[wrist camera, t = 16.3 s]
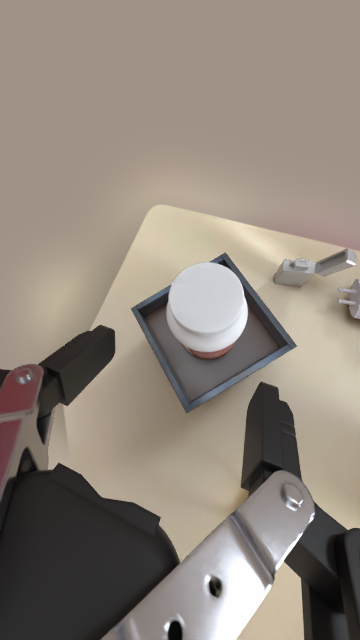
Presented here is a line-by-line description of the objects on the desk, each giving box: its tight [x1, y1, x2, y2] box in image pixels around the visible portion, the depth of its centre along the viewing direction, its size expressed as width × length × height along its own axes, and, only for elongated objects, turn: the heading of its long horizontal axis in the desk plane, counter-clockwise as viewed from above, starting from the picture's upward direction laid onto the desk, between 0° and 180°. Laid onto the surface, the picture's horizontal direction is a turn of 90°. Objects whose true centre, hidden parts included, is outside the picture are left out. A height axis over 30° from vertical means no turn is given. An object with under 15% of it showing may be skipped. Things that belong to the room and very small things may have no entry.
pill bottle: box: [166, 262, 248, 359], centre depth 18 cm, size 6×6×11 cm
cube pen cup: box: [131, 253, 297, 413], centre depth 27 cm, size 12×12×12 cm
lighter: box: [274, 249, 356, 287], centre depth 29 cm, size 7×2×8 cm, turn 78°
